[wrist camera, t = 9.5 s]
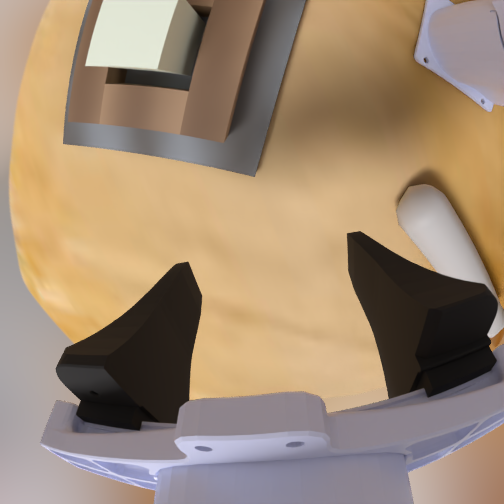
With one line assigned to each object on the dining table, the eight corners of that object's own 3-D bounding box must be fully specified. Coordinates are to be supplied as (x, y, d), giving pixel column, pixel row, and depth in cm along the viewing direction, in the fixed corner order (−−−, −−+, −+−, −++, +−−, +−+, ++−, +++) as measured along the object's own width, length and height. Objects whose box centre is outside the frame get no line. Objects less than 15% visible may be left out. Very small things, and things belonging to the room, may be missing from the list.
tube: (389, 235, 19) (476, 345, 27) (447, 197, 16) (509, 329, 23) (380, 194, 23) (470, 312, 31) (427, 161, 19) (500, 296, 27)
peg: (205, 24, 14) (180, -7, 8) (190, 75, 16) (157, 69, 10) (151, 19, 14) (105, -5, 8) (137, 69, 16) (85, 65, 10)
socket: (310, -18, 13) (321, -38, 9) (254, 173, 21) (254, 190, 17) (107, -32, 11) (84, -46, 7) (69, 141, 19) (41, 153, 16)
